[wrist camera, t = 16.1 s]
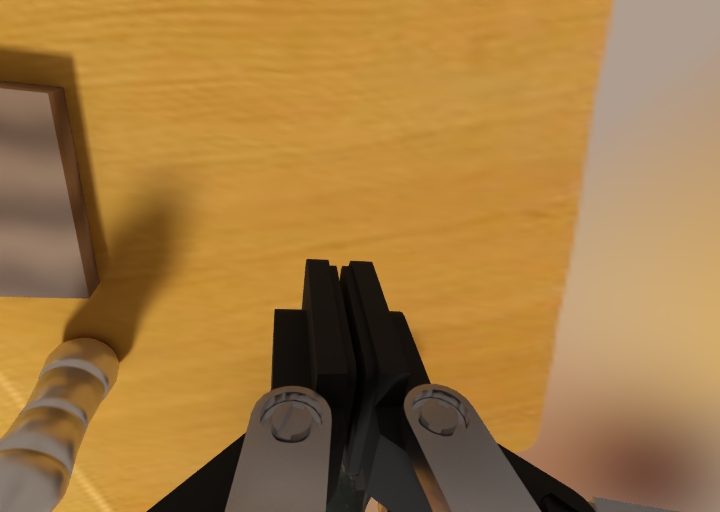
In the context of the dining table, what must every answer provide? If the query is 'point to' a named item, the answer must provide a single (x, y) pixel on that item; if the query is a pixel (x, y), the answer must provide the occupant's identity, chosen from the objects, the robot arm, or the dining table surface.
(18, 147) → the board
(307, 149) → the dining table surface
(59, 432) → the plastic bottle
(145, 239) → the dining table surface
